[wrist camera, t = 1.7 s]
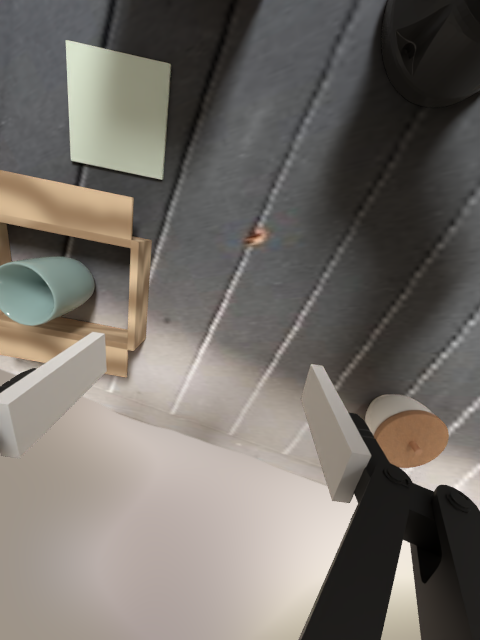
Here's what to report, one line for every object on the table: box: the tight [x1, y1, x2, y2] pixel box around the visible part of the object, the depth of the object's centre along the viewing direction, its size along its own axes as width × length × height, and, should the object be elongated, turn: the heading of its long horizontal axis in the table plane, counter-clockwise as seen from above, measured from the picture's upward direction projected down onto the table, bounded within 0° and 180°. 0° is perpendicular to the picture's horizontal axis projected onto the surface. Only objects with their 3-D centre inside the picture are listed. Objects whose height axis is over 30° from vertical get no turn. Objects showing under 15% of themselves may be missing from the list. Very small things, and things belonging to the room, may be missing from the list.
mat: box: [66, 40, 171, 180], centre depth 31 cm, size 12×12×1 cm
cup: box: [0, 256, 95, 326], centre depth 34 cm, size 8×8×10 cm
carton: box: [0, 170, 152, 377], centre depth 36 cm, size 26×22×4 cm
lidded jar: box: [365, 394, 449, 468], centre depth 40 cm, size 11×11×9 cm
